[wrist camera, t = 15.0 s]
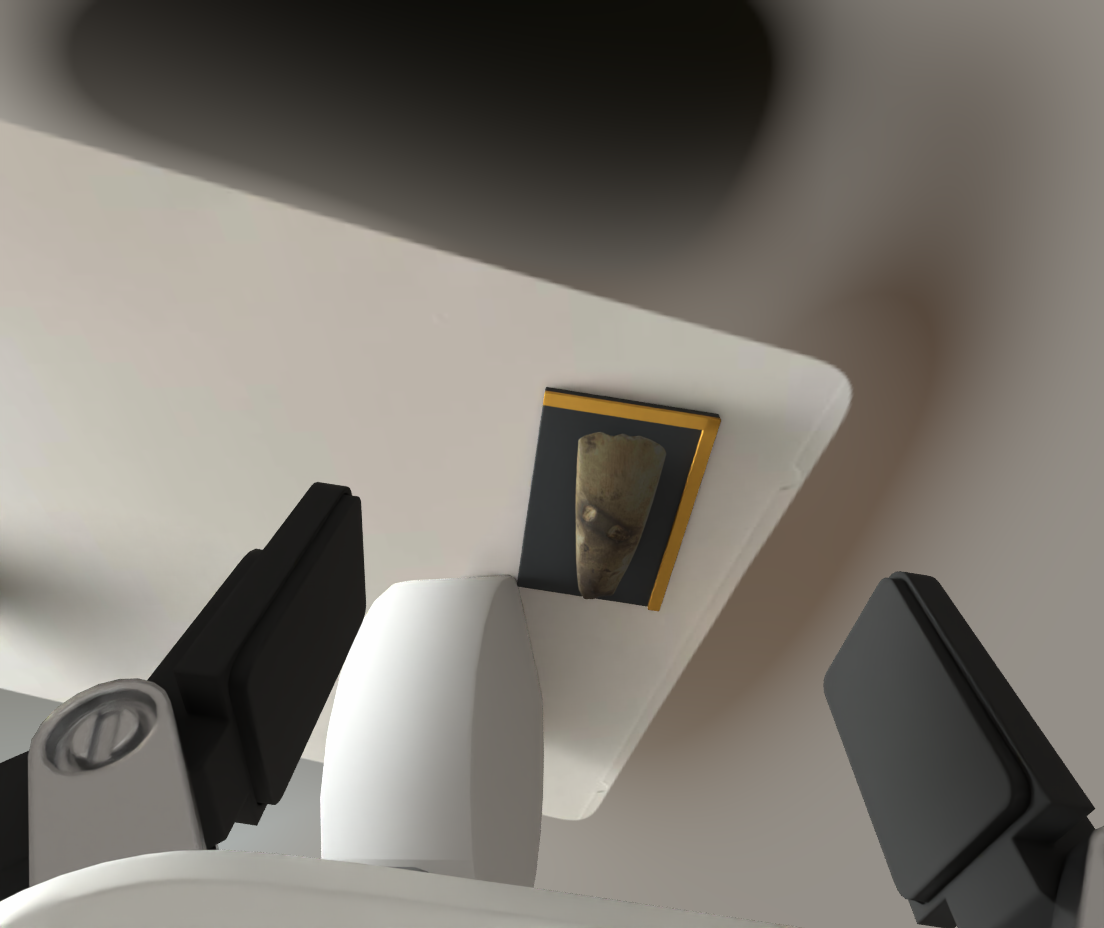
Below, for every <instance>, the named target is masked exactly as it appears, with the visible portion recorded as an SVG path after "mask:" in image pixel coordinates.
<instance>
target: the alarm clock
mask: <svg viewBox="0 0 1104 928" xmlns="http://www.w3.org/2000/svg"><path fill="white" fill-rule="evenodd" d="M543 768H544V737H543V705H542V694H541V690H540V685H539V680H538V676H537V671H536V666H535V662H534V657H533V653H532V648H531V643H530V639H529V634H528V629H527V625H526V620H525V616H524V611H523V606H522V602H521V597H520V592H519V588H518V586H517V581H516V580H515V579H514V578H513V577H512V576H510V575H504V576H485V577H467V578H448V579H430V580H411V581H406V582H401V583H397V584H393V585H392V586H391V587H390V588H389V589H387V590H386V591H385V592H384V593H383V594H382V595H381V596H380V597H379V598H378V599H377V600H375V601H374V603H373V605H372V606H371V608H370V610H369V612H368V613H367V615H366V617H365V618H364V620H363V622H362V625H361V627H360V629H359V631H358V633H357V636H356V638H355V640H354V642H353V644H352V647H351V649H350V651H349V653H348V656H347V659H346V662H345V664H344V667H343V670H342V672H341V675H340V679H339V683H338V688H337V692H336V697H335V701H334V705H333V710H332V714H331V719H330V723H329V728H328V732H327V741H326V750H325V759H324V769H323V779H322V788H321V858H322V859H327V860H335V861H343V862H351V863H359V864H367V865H375V866H383V867H391V868H399V869H406V870H413V871H420V872H427V873H434V874H441V875H448V876H455V877H461V878H468V879H475V880H482V881H489V882H496V883H503V884H510V885H517V886H524V887H531V888H534V881H535V876H536V870H537V860H538V851H539V842H540V833H541V817H542V801H543Z"/></svg>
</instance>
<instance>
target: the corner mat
mask: <svg viewBox="0 0 1104 928" xmlns="http://www.w3.org/2000/svg"><path fill="white" fill-rule="evenodd" d="M720 422H721V419H720V417H719V415H718V414H713V413H707V412H701V411H694V410H688V409H682V408H675V407H669V406H663V405H656V404H650V403H644V402H637V401H631V400H625V399H618V398H612V397H606V396H599V395H593V394H587V393H580V392H574V391H568V390H561V389H555V388H549V387H546V389H545V394H544V401H543V409H542V416H541V423H540V430H539V437H538V444H537V450H536V457H535V464H534V471H533V478H532V485H531V492H530V499H529V505H528V512H527V519H526V526H525V533H524V540H523V547H522V554H521V561H520V567H519V574H518V581H517V586H518V587H525V588H531V589H538V590H544V591H551V592H557V593H564V594H570V595H577V596H582V594H581V593H580V591H579V587H578V578H577V564H576V477H577V456H578V441H579V439H580V438H582V437H583V436H586V435H589V434H592V433H597V432H603V433H605V434H607V435H610V436H616V435H619V434H626V435H628V436H642V437H645V438H648V439H650V440H652V441H654V442H656V443H658V444H660V445H661V446H662V447H663V448H664V449H665V451H666V457H665V461H664V464H663V467H662V471H661V475H660V479H659V482H658V486H657V489H656V493H655V496H654V500H653V503H652V506H651V509H650V512H649V515H648V518H647V521H646V524H645V527H644V530H643V532H642V536H641V538H640V541H639V543H638V546H637V549H636V551H635V553H634V555H633V557H632V560H631V562H630V564H629V566H628V568H627V570H626V572H625V573H624V575H623V577H622V578H621V581H620V582H619V584H618V586H617V588H616V590H615V592H614V594H613V595H612V596H601V597H597V598H596V599H603V600H609V601H616V602H622V603H629V604H635V605H642V606H648V610H653V611H659V610H660V607H661V604H662V601H663V598H664V595H665V592H666V589H667V585H668V582H669V579H670V576H671V573H672V570H673V567H674V564H675V561H676V558H677V555H678V552H679V549H680V545H681V542H682V539H683V536H684V533H685V530H686V527H687V524H688V521H689V518H690V515H691V512H692V509H693V505H694V502H695V499H696V496H697V493H698V490H699V487H700V484H701V481H702V478H703V475H704V472H705V469H706V465H707V462H708V459H709V456H710V453H711V450H712V447H713V444H714V441H715V438H716V435H717V432H718V429H719V425H720Z"/></svg>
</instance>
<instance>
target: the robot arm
mask: <svg viewBox="0 0 1104 928" xmlns="http://www.w3.org/2000/svg"><path fill="white" fill-rule="evenodd" d="M365 610H366V593H365V572H364V552H363V532H362V512H361V500H360V497H358V496H352V493H351V490H350V488H349V487H347V486H340V485H334V484H327V483H321V482H316V483H314V484H313V485H312V486H311V487H310V488H309V490H308V491H307V492H306V494H305V495H304V496H303V498H302V499H301V500H300V502H299V503H298V504H297V506H296V507H295V508H294V510H293V511H292V512H291V514H290V515H289V516H288V518H287V519H286V520H285V522H284V523H283V524H282V525H281V527H280V528H279V529H278V531H277V532H276V533H275V535H274V536H273V537H272V539H271V540H270V541H269V543H268V544H267V545H266V547H265V548H264V549H263V550H260V549H254V550H252V551H250V552H249V553H248V554H247V555H246V556H245V557H244V558H243V559H242V560H241V561H240V563H239V564H238V565H237V566H236V568H235V569H234V570H233V572H232V573H231V574H230V575H229V577H228V578H227V579H226V580H225V582H224V583H223V584H222V586H221V587H220V588H219V589H218V591H217V592H216V593H215V594H214V596H213V597H212V598H211V600H210V601H209V602H208V603H207V605H206V606H205V607H204V609H203V610H202V611H201V612H200V614H199V615H198V616H197V617H196V619H195V620H194V621H193V623H192V624H191V625H190V626H189V628H188V629H187V630H186V631H185V633H184V634H183V635H182V637H181V638H180V639H179V640H178V642H177V643H176V644H175V645H174V647H173V648H172V649H171V651H170V652H169V653H168V654H167V656H166V657H165V658H164V660H163V661H162V662H161V663H160V665H159V666H158V667H157V668H156V670H155V671H154V672H153V674H152V675H151V676H150V677H149V679H148V680H142V679H138V678H137V679H118V680H114V681H110V682H106V683H102V684H98V685H96V686H94V687H91V688H89V689H87V690H85V691H83V692H80V693H78V694H76V695H75V696H73V697H72V698H70V699H69V700H67V701H66V702H64V703H63V704H62V705H60V706H59V707H58V708H57V709H56V710H54V712H53V713H51V714H50V715H49V716H48V717H47V718H46V719H45V720H44V721H43V722H42V724H41V725H40V727H39V729H38V730H37V732H36V733H35V735H34V737H33V738H32V740H31V745H30V749H29V751H27V752H25V753H23V754H20V755H18V756H15V757H13V758H11V759H9V760H6V761H4V762H2V763H0V928H800V927H793V926H787V925H780V924H774V923H768V922H761V921H754V920H748V919H740V918H734V917H728V916H720V915H714V914H708V913H701V912H694V911H687V910H681V909H674V908H667V907H660V906H654V905H647V904H640V903H634V902H627V901H620V900H613V899H607V898H600V897H593V896H586V895H580V894H573V893H566V892H558V891H552V890H545V889H538V888H531V887H524V886H517V885H510V884H503V883H496V882H489V881H482V880H475V879H468V878H461V877H455V876H448V875H441V874H434V873H427V872H420V871H413V870H406V869H399V868H391V867H383V866H375V865H367V864H359V863H351V862H343V861H335V860H327V859H318V858H311V857H303V856H294V855H286V854H275V853H262V852H247V851H232V850H219V849H218V845H217V844H218V843H220V842H222V841H224V840H225V839H226V838H227V836H228V834H229V832H230V831H231V829H232V827H233V824H234V823H235V822H236V823H243V824H250V825H256V826H257V825H258V822H259V820H260V818H261V816H262V814H263V812H264V810H265V808H266V806H267V804H271V805H276V804H277V803H278V802H279V801H280V799H281V798H282V796H283V794H284V792H285V790H286V788H287V786H288V783H289V781H290V779H291V777H292V775H293V773H294V770H295V768H296V766H297V764H298V762H299V760H300V757H301V755H302V753H303V751H304V749H305V746H306V744H307V742H308V740H309V738H310V736H311V733H312V731H313V729H314V727H315V725H316V723H317V720H318V718H319V716H320V714H321V712H322V710H323V707H324V705H325V703H326V701H327V699H328V697H329V694H330V692H331V690H332V688H333V686H334V683H335V681H336V679H337V677H338V675H339V673H340V670H341V668H342V666H343V664H344V662H345V660H346V657H347V655H348V653H349V651H350V649H351V647H352V644H353V642H354V640H355V638H356V636H357V633H358V631H359V629H360V627H361V625H362V622H363V619H364V615H365ZM824 693H825V696H826V699H827V702H828V705H829V707H830V710H831V713H832V715H833V718H834V721H835V723H836V726H837V729H838V732H839V734H840V737H841V739H842V742H843V745H844V748H845V751H846V753H847V756H848V758H849V761H850V764H851V767H852V770H853V772H854V775H855V778H856V780H857V783H858V786H859V788H860V791H861V794H862V797H863V799H864V802H865V805H866V807H867V810H868V813H869V816H870V818H871V821H872V824H873V826H874V829H875V832H876V834H877V837H878V840H879V843H880V845H881V848H882V850H883V853H884V856H885V859H886V862H887V864H888V867H889V869H890V872H891V875H892V878H893V880H894V883H895V885H896V888H897V890H898V891H899V893H900V894H901V896H903V897H904V898H905V899H908V900H909V903H910V906H911V908H912V911H913V914H914V916H915V919H916V922H917V924H921V925H928V926H934V927H941V928H955V927H956V926H957V927H958V928H1104V826H1103V827H1100V828H1098V829H1095V828H1094V827H1093V825H1092V824H1091V822H1090V821H1089V819H1088V818H1087V815H1088V814H1090V813H1091V812H1092V811H1093V810H1094V809H1095V808H1094V806H1093V805H1092V803H1091V802H1090V800H1089V799H1088V797H1087V796H1086V795H1085V793H1084V792H1083V790H1082V789H1081V787H1080V786H1079V785H1078V783H1077V782H1076V780H1075V779H1074V777H1073V776H1072V774H1071V773H1070V771H1069V770H1068V768H1067V767H1066V766H1065V764H1064V763H1063V761H1062V760H1061V758H1060V757H1059V756H1058V754H1057V753H1056V751H1055V750H1054V748H1053V747H1052V745H1051V744H1050V743H1049V741H1048V740H1047V738H1046V737H1045V735H1044V734H1043V732H1042V731H1041V729H1040V728H1039V726H1038V725H1037V724H1036V722H1035V721H1034V720H1033V718H1032V717H1031V715H1030V713H1029V712H1028V711H1027V709H1026V708H1025V706H1024V705H1023V703H1022V702H1021V700H1020V699H1019V698H1018V696H1017V695H1016V693H1015V692H1014V690H1013V689H1012V687H1011V686H1010V685H1009V683H1008V682H1007V680H1006V679H1005V677H1004V676H1003V674H1002V673H1001V672H1000V670H999V669H998V668H997V666H996V664H995V663H994V661H993V660H992V658H991V657H990V656H989V654H988V653H987V651H986V650H985V648H984V647H983V645H982V644H981V642H980V641H979V640H978V638H977V637H976V635H975V634H974V632H973V631H972V629H971V628H970V627H969V625H968V624H967V622H966V621H965V619H964V618H963V616H962V615H961V614H960V612H959V611H958V609H957V608H956V606H955V605H954V603H953V602H952V600H951V599H950V598H949V596H948V595H947V593H946V592H945V590H944V589H943V587H942V586H941V585H940V583H939V582H938V581H937V580H936V579H935V578H933V577H931V576H927V575H921V574H914V573H908V572H901V571H900V572H895V573H893V574H892V575H891V576H890V577H889V578H884V579H882V580H881V581H880V582H879V584H878V586H877V587H876V589H875V591H874V592H873V594H872V596H871V597H870V599H869V601H868V603H867V604H866V606H865V608H864V609H863V611H862V613H861V615H860V616H859V618H858V620H857V621H856V623H855V625H854V626H853V628H852V630H851V631H850V633H849V635H848V637H847V638H846V640H845V642H844V643H843V645H842V647H841V649H840V650H839V652H838V654H837V655H836V657H835V659H834V660H833V662H832V664H831V666H830V668H829V669H828V671H827V672H826V675H825V678H824Z"/></svg>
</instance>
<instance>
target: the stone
mask: <svg viewBox="0 0 1104 928" xmlns="http://www.w3.org/2000/svg"><path fill="white" fill-rule="evenodd" d="M665 457H666V451H665V449H664V448H663V447H662V446H661V445H660V444H658V443H656V442H654V441H652V440H650V439H648V438H645V437H642V436H628V435H626V434H619V435H616V436H610V435H607V434H605V433H603V432H597V433H592V434H589V435H586V436H583V437H582V438H580V439H579V441H578V456H577V477H576V564H577V578H578V587H579V591H580V593H581V594H582V596H583V598H584V599H595V598H597V597H601V596H612V595H613V594H614V592H615V590H616V588H617V586H618V584H619V582H620V581H621V578H622V577H623V575H624V573H625V572H626V570H627V568H628V566H629V564H630V562H631V560H632V557H633V555H634V553H635V551H636V549H637V546H638V543H639V541H640V538H641V536H642V532H643V530H644V527H645V524H646V521H647V518H648V515H649V512H650V509H651V506H652V503H653V500H654V496H655V493H656V489H657V486H658V482H659V479H660V475H661V471H662V467H663V464H664V461H665Z"/></svg>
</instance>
